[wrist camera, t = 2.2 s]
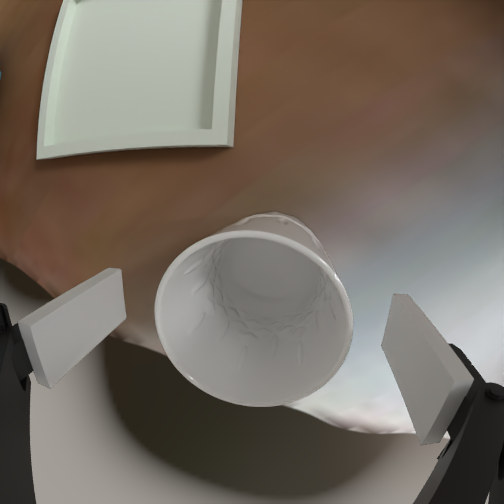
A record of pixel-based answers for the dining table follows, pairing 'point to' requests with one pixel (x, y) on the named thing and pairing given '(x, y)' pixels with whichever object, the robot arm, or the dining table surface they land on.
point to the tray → (140, 76)
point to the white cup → (255, 312)
